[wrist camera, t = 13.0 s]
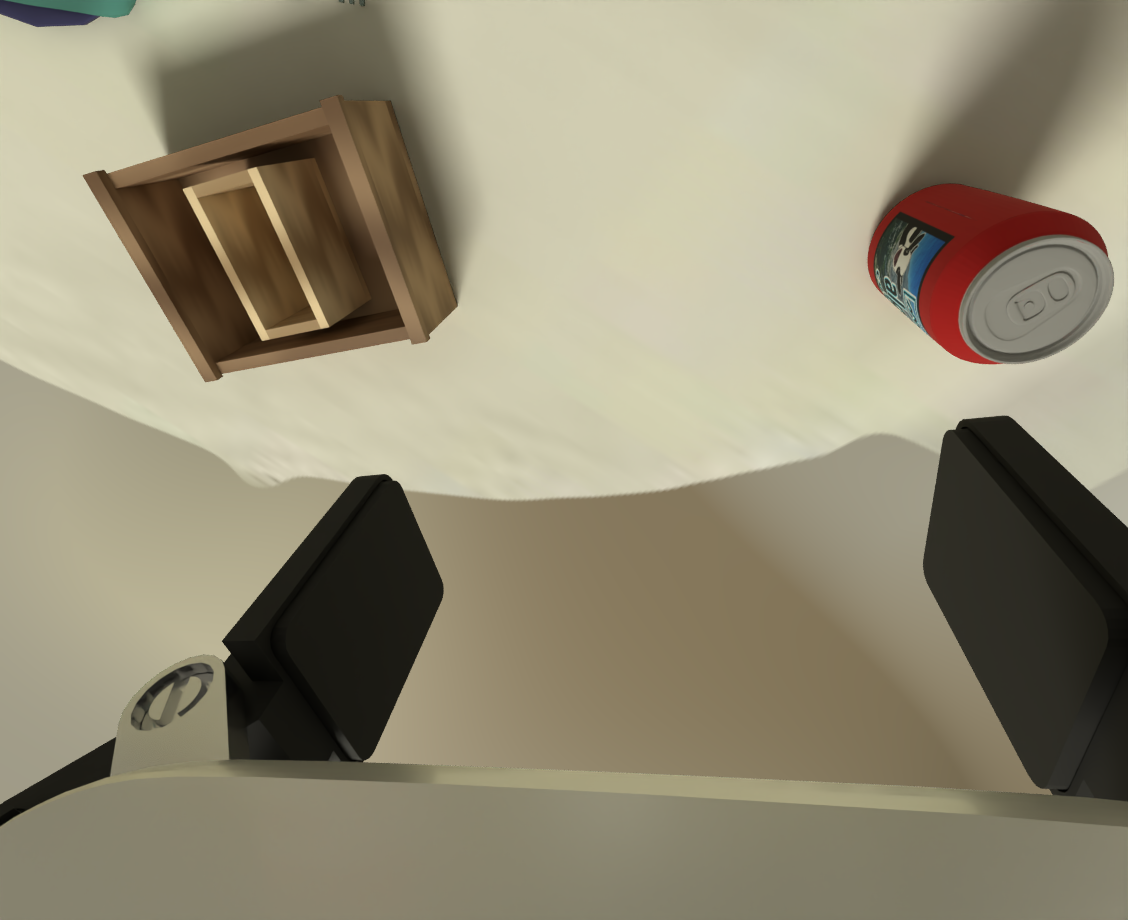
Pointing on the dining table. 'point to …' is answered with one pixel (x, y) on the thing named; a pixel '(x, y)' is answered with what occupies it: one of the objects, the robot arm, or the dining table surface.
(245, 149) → the walnut crate
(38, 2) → the cutlery set
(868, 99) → the dining table surface
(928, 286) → the beverage can
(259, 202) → the oak crate
